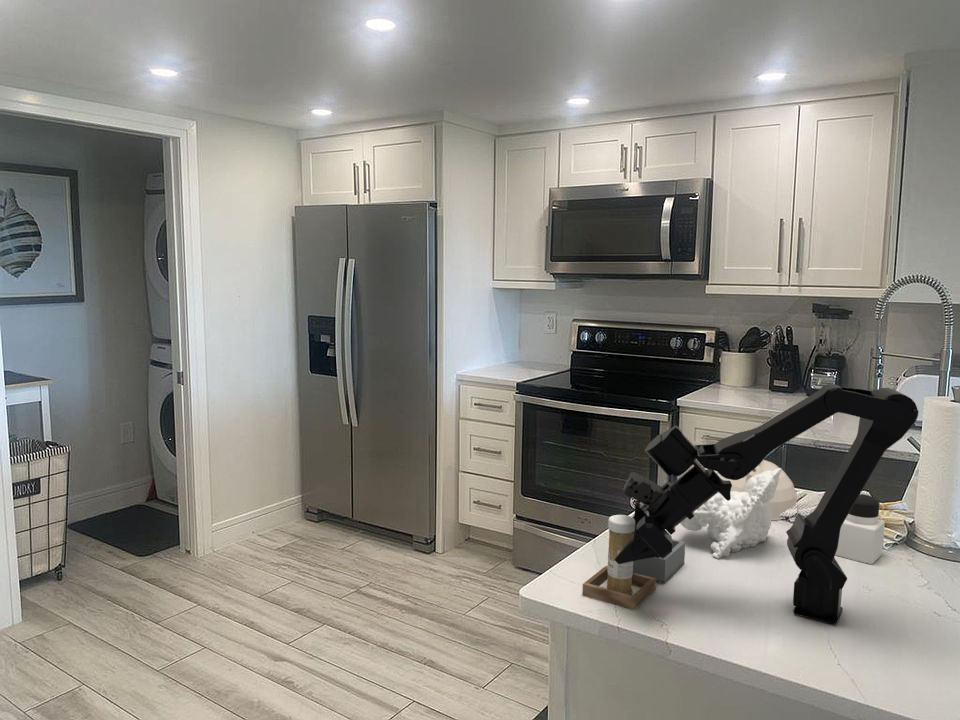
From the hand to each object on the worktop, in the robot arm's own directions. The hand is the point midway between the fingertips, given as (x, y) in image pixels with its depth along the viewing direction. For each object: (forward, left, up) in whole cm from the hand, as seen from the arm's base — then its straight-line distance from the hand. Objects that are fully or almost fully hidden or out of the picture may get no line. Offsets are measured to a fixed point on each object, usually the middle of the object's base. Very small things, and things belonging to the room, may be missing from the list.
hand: (617, 551), depth 126 cm
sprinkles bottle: (-1, 0, -8) cm, 8 cm away
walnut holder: (-1, 0, -7) cm, 7 cm away
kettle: (-8, -61, -8) cm, 62 cm away
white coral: (-10, -34, -8) cm, 36 cm away
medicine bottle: (-33, -43, -8) cm, 55 cm away
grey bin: (-1, -13, -7) cm, 15 cm away
